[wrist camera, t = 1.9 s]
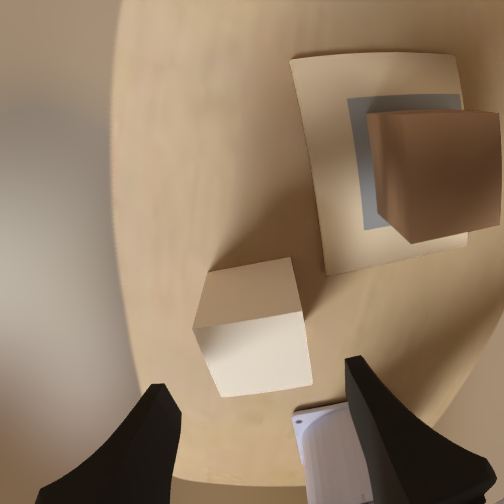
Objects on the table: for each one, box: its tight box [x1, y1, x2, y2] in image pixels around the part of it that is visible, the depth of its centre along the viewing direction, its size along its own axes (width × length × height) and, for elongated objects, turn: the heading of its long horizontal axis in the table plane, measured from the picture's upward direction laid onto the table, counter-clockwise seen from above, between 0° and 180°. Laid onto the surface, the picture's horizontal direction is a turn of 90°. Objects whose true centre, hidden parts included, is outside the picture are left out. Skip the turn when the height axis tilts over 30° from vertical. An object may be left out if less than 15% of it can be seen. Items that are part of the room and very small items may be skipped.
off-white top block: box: [192, 257, 313, 398], centre depth 16 cm, size 4×4×5 cm
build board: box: [289, 52, 468, 276], centre depth 14 cm, size 11×9×1 cm
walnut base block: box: [366, 109, 502, 244], centre depth 12 cm, size 5×5×4 cm
